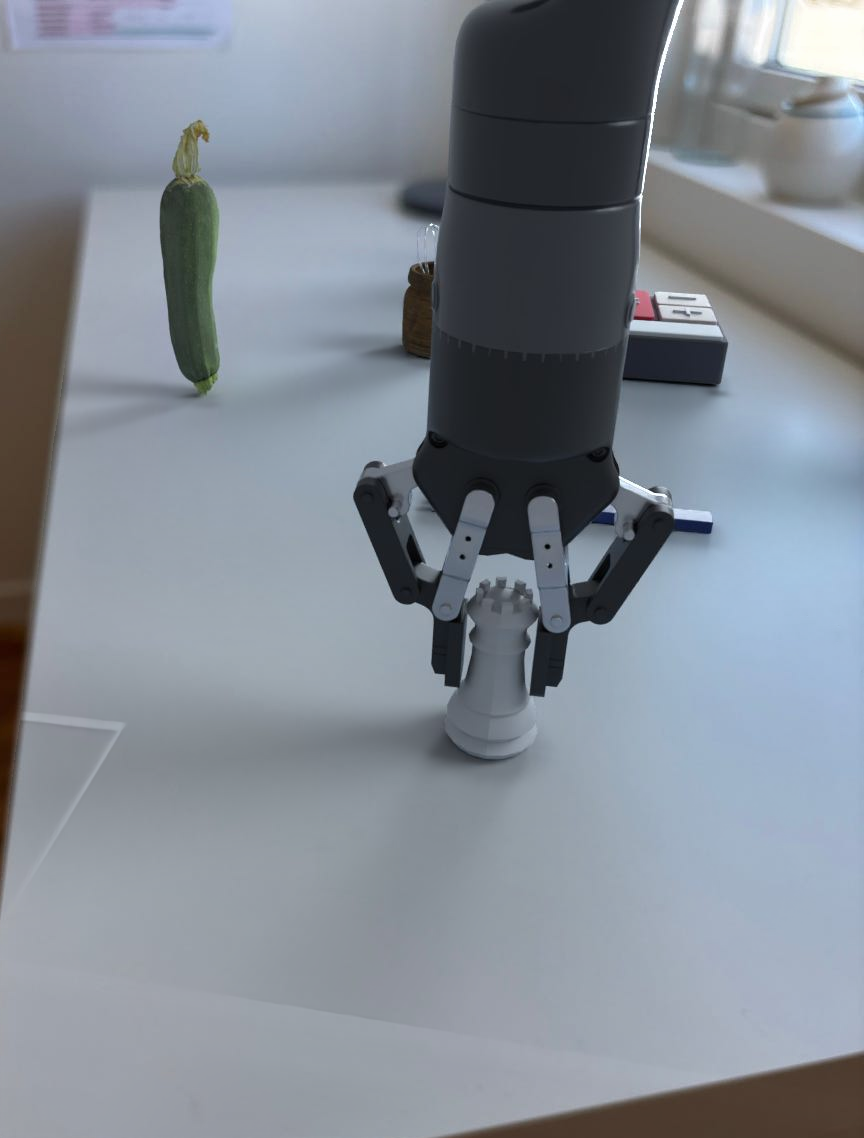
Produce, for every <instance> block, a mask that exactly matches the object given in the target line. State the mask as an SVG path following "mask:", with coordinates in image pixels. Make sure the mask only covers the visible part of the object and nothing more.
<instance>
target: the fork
mask: <svg viewBox="0 0 864 1138" xmlns="http://www.w3.org/2000/svg"><path fill="white" fill-rule="evenodd" d="M673 510H674V519H675V528H674V530H673V531H684V532H694V533H703V534H712V531H713V526H714V520H713V519H714V518H713V513H712V511H705V510H695V509H685V508H677V507H676V508H675V507H673ZM430 511H432V512H435V511H434V509H433V508H432V506H431V505H430ZM615 513H616V510H615V508H614V507H613V506H612V505H609V506H608V507H607V508H606V509H605V510H604V511H603V512H602V513H600V514H599V515H598V516H597V517H596V518H595V519H594V520H593V521H592V522H591V523H599V524H600V523H601V524H609V525H614V515H615Z"/></svg>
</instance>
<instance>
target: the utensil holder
mask: <svg viewBox="0 0 864 1138" xmlns="http://www.w3.org/2000/svg"><path fill="white" fill-rule="evenodd" d="M429 227H430V229H431V231H432V235H433V240H434V244H437V233H436V231H438V232H439V228H440V226H438V225H435V224H433V223H431V224H425V225H423V226H421V227H420V228H419V230H418V232H417V237H416V256H417V257H416V258H418V259H417V261H418V263H415V264H413V265H411V266H410V268H409V271H408V275H407V282H408V284H409V286H408V287H407V288H406V290H405V292H404V296H403V301H402V325H401V340H402V347H403V348H404V349H405V350H406V352H408V353H410V354H411V355H414V356H418V357H420V358H421V357H422V358H428V359H430V355H431V335H432V317H433V310H432V308H431V285H432V282H433V280H434V277H435V260H436V249H434V260H433V261H428V259H427V258H428V257H427V256H426V253H427V249H426V248H427V247H426V246H427V245H426V243H427V242H426V239H424V242H423V243H424V245H423V247H424V248H423V251H424V257H425V261H421V258H420V254H419V237H420V234H421V232H422V231H423V230H424V232H425V233H424V238H427V237H426V236H427V232H428V230H429ZM433 228H434V230H433Z"/></svg>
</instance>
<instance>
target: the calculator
mask: <svg viewBox="0 0 864 1138" xmlns="http://www.w3.org/2000/svg"><path fill="white" fill-rule="evenodd" d="M649 293H650V292H649V291H648V290H639V289H636V290H635V295H636V309H635V314H634V318H633V320H632V322H631V324H630V330H629V338H628V344H627V351H626V358H625V364H624V371H623V378H626V379H639V380H654V381H665V382H667V381H668V382H679V383H692V384H706V385H720V384H721V383H722V379H723V373H724V369H725V363H726V358H727V353H728V347H729V342H728V339H727V337H726V334H725V332H724V330H723V328H722V326H721V324H720V321H719V319H718V316H717V315H716V312H715V309H714V308H713V306H712V303H711V302H710V300H708V297H707V295H705V294H700V293H683V292H668V291H654V293H653V296H652V295H650V294H649Z"/></svg>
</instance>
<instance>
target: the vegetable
mask: <svg viewBox="0 0 864 1138" xmlns="http://www.w3.org/2000/svg"><path fill="white" fill-rule="evenodd" d="M208 127H209V125H205V122H204V121H203V120H202V119H198V120H195V121H194V122H192V123H189V125H188V126H187V127H186V128H184V129H182V130H181V132H182V133H183V134H182V135H180V136H179V137H180V141H179V143H178V144H177V149H176V151H175V153H174V155H175V156H173V160H172V166H171V169H172V171H173V173H174V176H175V177H174V178H173V179H171V181H169V182H168V183H167V185H166V187H165V188H164V190H163V192H162V195H161V197H160V198H161V199H160V202H159V203H160V204H159V241H160V243H159V244H160V251H161V258H162V268H163V269H162V272H163V281H164V282H163V283H164V289H165V290H164V291H165V299H166V308H167V317H168V318H167V321H168V330H169V337H170V342H171V346H172V349H173V354H174V356H175V359H176V363H177V365H178V370H179V371H180V373H181V374H182V375H183V377H184V378H185V379H186V380H188V381H190V382H191V383H192V384H193V386H194V387H195V389H196V390H198V392H200V393H201V394H202V395H204V396H207V392H209V391H210V390H211V389H212V388H213V386H214V384H215V383H216V382H218V381H219V380H218V379H219V374H218V371H219V370H220V365H221V355H220V350H219V342H218V335H217V333H218V332H217V325H216V317H215V313H214V304H213V303H214V302H213V283H214V282H213V280H214V273H215V268H216V264H217V263H216V262H217V257H218V256H217V255H218V244H219V243H218V242H219V232H220V231H219V230H220V210H219V204H218V200H217V197H216V195H215V192H214V190H213V188H212V187H211V185H210V184H209V183H208V182H207V181H206V180H205V179H203V178H202V177H201V176H199V175H197V174H198V172H202V167H199V166H200V150H199V149H200V147H199V142H198V141H199V138H200V137H201V140H203V141H204V142H205V143H209V142H210V141H209V140H210V135H211V134H210V133H209V130H208Z"/></svg>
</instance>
